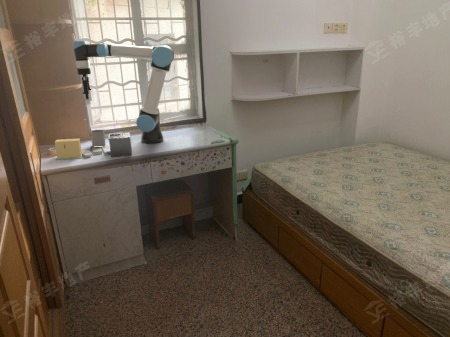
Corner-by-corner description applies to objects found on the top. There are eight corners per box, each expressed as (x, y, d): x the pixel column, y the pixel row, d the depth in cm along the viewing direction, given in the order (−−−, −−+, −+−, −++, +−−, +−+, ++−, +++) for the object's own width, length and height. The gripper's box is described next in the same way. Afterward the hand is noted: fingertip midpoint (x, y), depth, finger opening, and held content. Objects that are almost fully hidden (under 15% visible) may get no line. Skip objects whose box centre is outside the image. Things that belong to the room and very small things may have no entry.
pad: (83, 153, 219) (83, 153, 219) (81, 158, 211) (81, 157, 211) (58, 155, 216) (58, 154, 216) (55, 160, 208) (55, 159, 207)
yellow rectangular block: (81, 154, 217) (79, 138, 213) (80, 156, 212) (78, 140, 209) (59, 155, 214) (56, 139, 210) (57, 158, 209) (54, 142, 206)
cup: (91, 148, 230) (89, 133, 227) (93, 144, 238) (91, 129, 234) (105, 147, 232) (103, 132, 228) (106, 143, 239) (104, 129, 236)
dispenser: (131, 149, 227) (130, 132, 223) (131, 155, 216) (129, 137, 212) (111, 151, 224) (109, 133, 220) (110, 157, 213) (107, 138, 209)
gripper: (78, 66, 227) (84, 99, 234) (74, 69, 204) (81, 106, 212) (91, 66, 229) (96, 99, 236) (88, 69, 206) (94, 105, 214)
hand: (89, 102), depth 224 cm, fingers open, 13 cm apart
